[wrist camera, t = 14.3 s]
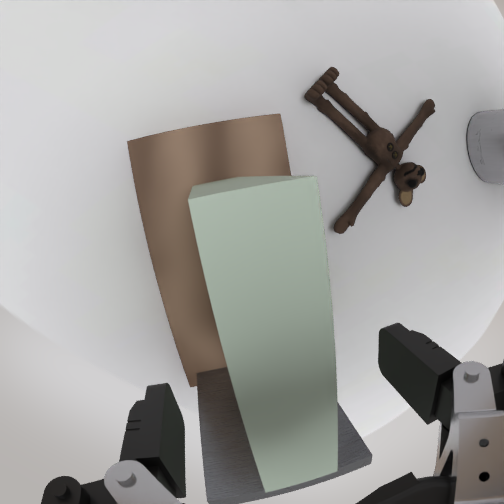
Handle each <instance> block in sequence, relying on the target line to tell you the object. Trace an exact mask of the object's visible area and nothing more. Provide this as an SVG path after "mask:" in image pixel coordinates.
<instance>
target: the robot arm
mask: <svg viewBox="0 0 504 504" xmlns="http://www.w3.org/2000/svg"><path fill="white" fill-rule="evenodd" d="M467 143H468V151H469V156H470V159H471V163H472V165H473V167H474V170H475V171H476V173H477V175H478V176H479V177H480V178H481V179H482V180H484V181H485V182H488V183H496V184H504V109H501V110H492V111H483V112H478V113H476V114H475V115H474V116H473V117H472V119H471V121H470V123H469V127H468V134H467ZM378 364H379V368H380V371H381V373H382V375H383V376H384V377H385V378H386V379H387V380H388V381H389V383H390V384H391V385H392V386H393V387H394V388H395V389H396V390H397V391H398V393H399V394H400V395H401V396H402V397H403V398H404V399H405V400H406V401H407V403H408V404H409V405H410V406H411V407H412V408H413V409H414V410H415V411H416V413H418V415H419V416H420V417H421V418H422V419H423V420H424V421H425V423H426V424H430V423H432V422H433V421H435V420H437V419H438V420H439V421H440V422H441V423H440V427H439V438H438V449H437V459H436V466H435V471H434V474H433V476H432V477H424V478H418V479H416V478H415V476H414V475H413V473H412V472H410V473H408V474H406V475H404V476H402V477H400V478H398V479H396V480H394V481H392V482H390V483H388V484H385V485H383V486H381V487H379V488H378V489H377V490H375V491H374V492H372V493H371V494H370V495H368V496H367V497H365V498H364V499H362V500H361V501H359V502H358V503H356V504H504V361H503V363H502V364H499V365H496V366H493V367H489V368H487V367H486V366H484V365H483V364H481V363H478V362H474V361H469V362H464V363H461V362H460V361H459V360H457V359H456V358H455V357H453V356H452V355H451V354H449V353H448V352H447V351H445V350H444V349H443V348H442V347H439V345H438V344H436V343H435V342H434V341H433V342H432V340H431V339H430V338H428V337H427V336H426V335H424V334H422V333H419V332H416V331H413V330H411V331H409V330H408V329H407V328H405V327H404V326H403V325H401V324H400V323H395V324H393V325H390V326H387V327H384V328H382V329H380V331H379V354H378ZM185 485H186V484H185V426H184V420H183V417H182V414H181V411H180V409H179V407H178V404H177V402H176V399H175V397H174V395H173V392H172V390H171V387H170V385H169V384H168V383H164V384H157V385H150V386H147V390H146V395H145V400H140V401H137V402H136V403H135V404H134V406H133V407H132V408H131V410H130V412H129V416H128V423H127V425H126V432H125V435H124V440H123V445H122V450H121V455H120V460H119V462H118V463H116V464H114V465H113V466H111V467H110V468H109V469H108V470H107V472H106V474H105V476H104V479H102V480H99V481H95V482H91V483H87V484H83V485H80V483H79V482H78V481H77V480H75V479H74V478H72V477H69V476H61V477H57V478H55V479H53V480H52V481H50V483H48V485H47V486H46V488H45V490H44V494H43V498H42V502H41V504H182V503H181V502H179V500H177V499H176V498H184V497H186V486H185ZM183 504H184V503H183Z"/></svg>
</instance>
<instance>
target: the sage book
mask: <svg viewBox="0 0 504 504" xmlns="http://www.w3.org/2000/svg"><path fill="white" fill-rule="evenodd" d="M188 203H189V208H190V213H191V217H192V222H193V227H194V231H195V236H196V241H197V245H198V250H199V254H200V259H201V263H202V267H203V272H204V276H205V280H206V285H207V289H208V293H209V297H210V301H211V305H212V309H213V313H214V317H215V321H216V325H217V329H218V333H219V337H220V341H221V345H222V349H223V352H224V356H225V360H226V364H227V367H228V371H229V375H230V378H231V382H232V385H233V389H234V392H235V396H236V399H237V403H238V406H239V410H240V413H241V417H242V420H243V423H244V427H245V430H246V433H247V437H248V440H249V443H250V446H251V449H252V453H253V456H254V459H255V462H256V465H257V468H258V471H259V474H260V478H261V481H262V484H263V487H264V490H265V492H271V491H275V490H279V489H282V488H286V487H290V486H293V485H297V484H300V483H304V482H307V481H310V480H313V479H316V478H319V477H322V476H325V475H328V474H331V473H334V472H337V471H338V411H337V378H336V357H335V340H334V325H333V312H332V300H331V289H330V278H329V268H328V259H327V250H326V241H325V233H324V225H323V217H322V210H321V203H320V196H319V189H318V182H317V176H250V177H235V178H229V179H224V180H219V181H214V182H209V183H204V184H199V185H195V186H192V189H191V192H190V195H189V198H188Z"/></svg>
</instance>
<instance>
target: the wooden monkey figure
mask: <svg viewBox="0 0 504 504" xmlns="http://www.w3.org/2000/svg"><path fill="white" fill-rule="evenodd" d="M338 76H339V72H338V70H337V69H336V68H334V67H330V68H329V69H328V70H327V71H326V72H325V73H324V74H323V75H322V76H321V77H320V79H319V80H318V81H317V82H316V83H315V84H314V85H313V86H312V87H311V88H310V89H309V90H308V91H307V93H306V94H305V98H306V99H307V100H308V101H309V102H311V103H313V104H314V105H316V106H317V107H318V110H319V111H321V112H322V113H324V114H326V115H327V116H328V117H330V118H331V119H332V120H333V121H334V122H335V123H336V124H337V125H338V126H340V127H341V128H342V129H343V130H344V131H345V132H346V133H347V134H348V135H349V136H350V137H351V138H352V139H353V140H354V141H356V142H357V143H358V144H359V145H360V146H361V147H362V149H363V151H364V152H365V154H366V155H367V156H369V157H370V158H372V159H373V160H374V161H375V162H376V163H377V165H378V167H377V168H376V170H375V171H374V172H373V173H372V175H371V176H370V178H369V180H368V181H367V183H366V184H365V186H364V187H363V189H362V190H361V192H360V193H359V195H358V196H357V198H356V199H355V201H354V202H353V203H352V205H351V206H350V207H349V208H348V210H347V211H346V212H345V213H344V214H343V215H342V216H341V217H340V218H339V219H338V220H337V221H336V223H335V225H334V231H335V232H336V233H339V234H342V233H344V232H345V231H346V230H347V228H348V227H349V226H353V225H354V223H355V220H356V217H357V215H358V213H359V212H360V210H361V209H362V207H363V206H364V205H365V203H366V202H367V201H368V200H369V198H370V197H371V195H372V194H373V192H374V191H375V190H376V189H377V187H379V186H380V184H381V182H382V181H384V180H385V177H386V175H387V174H388V173H389V172H390V171H392V170H393V169H394V168H395V169H396V170H395V174H394V182H395V184H396V185H397V187H398V188H399V189H400V192H399V195H398V196H399V201H400V203H401V204H402V205H403V206H405V207H407V206H409V205H410V204H411V203H412V199H413V189H415V188H417V187H418V186H419V184H420V183H423V182H424V181H425V179H426V172H425V169H424V168H423V167H422V166H420V165H416V164H415V163H413V162H407V163H403V164H401V165H400V164H399V162H400V160H401V158H402V156H403V151H404V150H406V149H407V148H408V147H409V143H410V142H411V140H412V138H413V137H414V135H415V134H416V133H417V131H418V130H419V129H420V128H421V127H422V125H423V123H424V122H425V120H426V119H427V118H428V117H429V116H430V115H432V114H433V113H434V112H435V110H434V107H435V104H434V102H433V100H431V99H428V100H426V101H425V103H424V104H423V106H422V108H421V110H420V112H419V114H418V115H417V116H416V118H415V119H414V120H413V122H412V123H411V124H410V125H409V126H408V128H407V129H406V130H405V131H404V132H403V134H402V135H401V136H400V137H399V139H398V140H397V141H395V139H394V136H393V134H391V133H390V131H388V130H387V129H384V128H382V127H379V126H378V125H377V124H376V123H375V122H374V121H373V120H372V119H371V118H370V117H369V115H368V113H367V112H364V111H363V110H362V109H361V108H360V107H359V106H358V105H357V104H355V103H354V102H353V101H352V100H351V99H350V98H349V96H348V95H347V94H346V93H344V92H342V91H341V90H340V89H339V88H338V86H337V84H335V83H334V81H335V80H336V79H337V77H338ZM324 91H326V92H327V93H328V94H330V95H331V96H332V97H333V98H334V99H335V100H336V101H338V102H339V103H340V104H341V105H342V106H343V107H344V108H345V109H347V110H348V111H349V112H350V113H351V114H352V115H353V116H354V117H355V118H356V119H357V120H358V121H359V122H361V123H362V124H363V125H364V126H365V127H366V128H367V129H368V130H369V131H370V132H369V134H368V135H367V136H365V135H363V134H362V133H361V132H360V131H359V130H358V129H357V128H356V127H355V126H354V125H353V124H352V123H351V122H350V121H349V120H348V119H347V118H345V117H344V116H343V115H342V114H341V113H340V112H339V111H338V110H337V109H336V108H335V107H334V106H333V105H332V104H331V102H330V101H329V100H326V99H324V98H323V96H322V94H323V93H324Z"/></svg>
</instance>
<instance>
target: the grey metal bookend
mask: <svg viewBox="0 0 504 504" xmlns="http://www.w3.org/2000/svg"><path fill="white" fill-rule="evenodd" d="M197 390H198V406H199V421H200V433H201V444H202V456H203V466H204V477H205V486H206V495H207V501H208V503H209V504H239V503H244V502H249V501H254V500H259V499H264V498H268V497H272V496H276V495H280V494H284V493H288V492H291V491H295V490H298V489H302V488H305V487H309V486H312V485H315V484H318V483H321V482H324V481H327V480H330V479H333V478H336V477H338V476H341V475H344V474H346V473H349V472H351V471H354V470H357V469H359V468H361V467H364V466H366V465H369V464H371V461H372V454H371V452H370V451H369V449H368V448H367V446H366V445H365V443H364V442H363V440H362V438H361V437H360V435H359V434H358V432H357V431H356V429H355V428H354V426H353V425H352V423H351V422H350V420H349V419H348V417H347V416H346V414H345V412H344V411H343V409H342V408H341V406H340V405H339V403H338V402H337V411H338V471H337V472H334V473H331V474H328V475H325V476H322V477H319V478H316V479H313V480H310V481H307V482H304V483H300V484H297V485H293V486H290V487H286V488H282V489H279V490H275V491H271V492H265V490H264V487H263V484H262V481H261V478H260V474H259V471H258V468H257V465H256V462H255V459H254V456H253V453H252V449H251V446H250V443H249V440H248V437H247V433H246V430H245V427H244V423H243V420H242V417H241V413H240V410H239V406H238V403H237V399H236V396H235V392H234V389H233V385H232V382H231V378H230V375H229V371H228V367H224V368H219V369H214V370H209V371H204V372H199V373H197Z"/></svg>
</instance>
